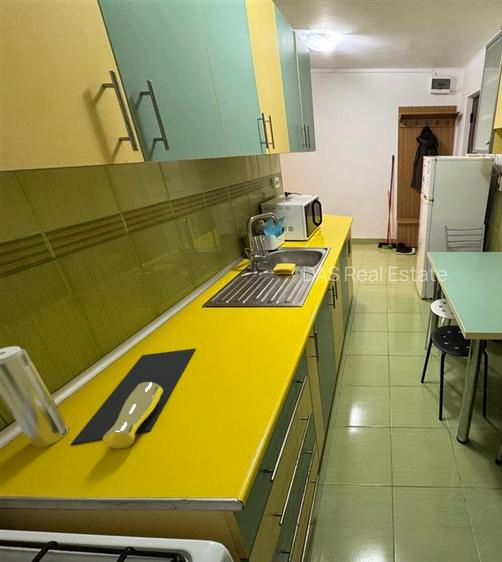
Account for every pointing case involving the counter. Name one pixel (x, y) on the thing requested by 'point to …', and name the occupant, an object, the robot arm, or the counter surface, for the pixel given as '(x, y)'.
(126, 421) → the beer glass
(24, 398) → the silver metal cylinder
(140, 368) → the mat
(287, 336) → the counter surface
